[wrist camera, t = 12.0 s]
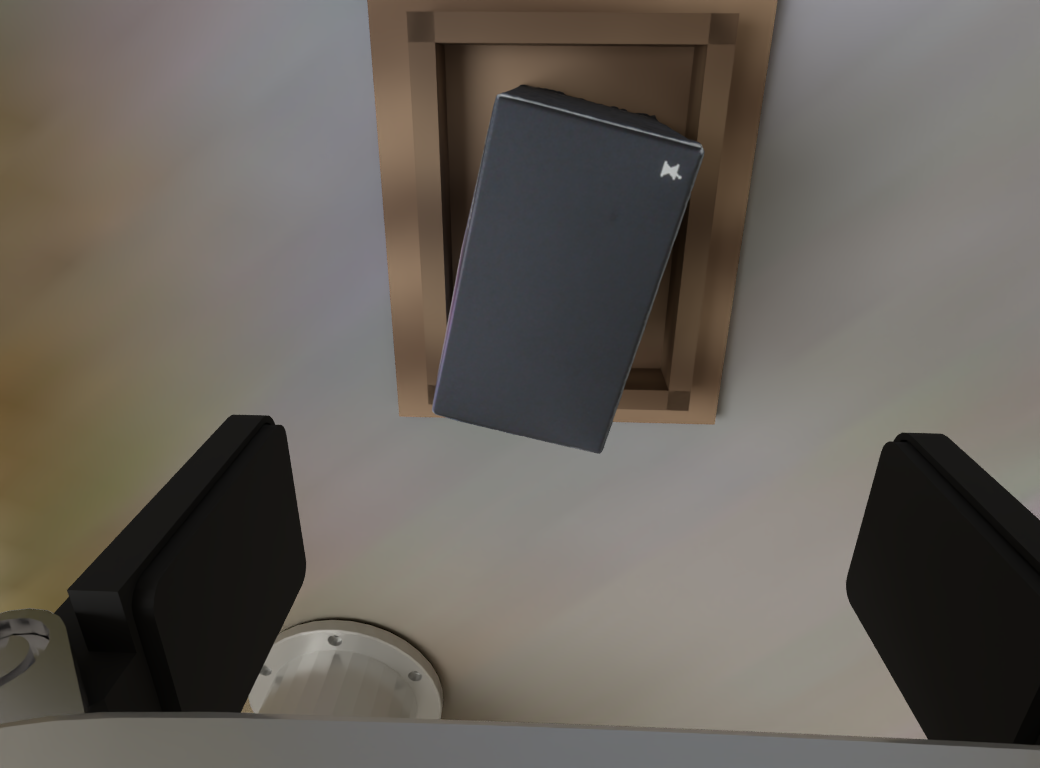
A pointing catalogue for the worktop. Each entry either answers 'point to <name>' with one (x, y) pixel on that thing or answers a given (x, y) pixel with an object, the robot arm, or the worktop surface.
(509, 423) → the small box
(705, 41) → the brown shallow box
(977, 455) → the worktop surface
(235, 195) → the worktop surface
